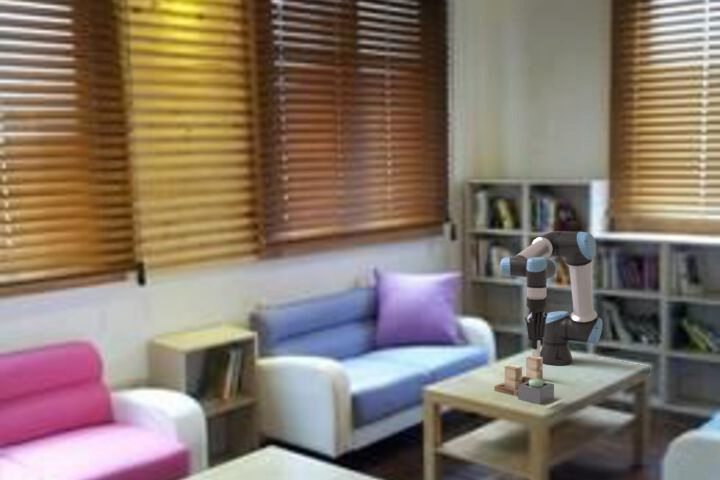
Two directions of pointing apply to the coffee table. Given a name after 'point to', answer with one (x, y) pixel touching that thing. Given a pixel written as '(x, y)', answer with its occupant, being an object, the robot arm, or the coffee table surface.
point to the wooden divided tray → (502, 389)
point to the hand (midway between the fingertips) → (536, 356)
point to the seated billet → (513, 376)
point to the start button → (536, 383)
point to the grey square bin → (536, 393)
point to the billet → (534, 367)
